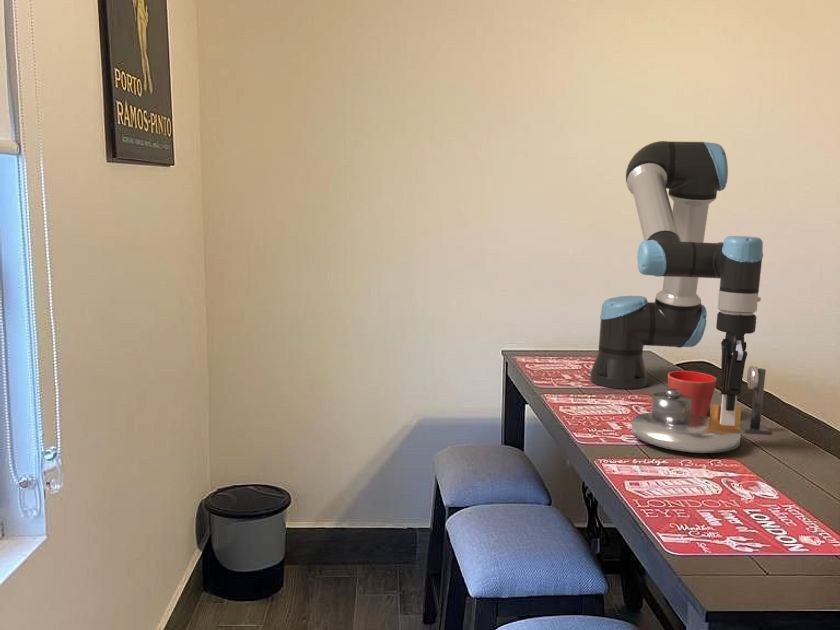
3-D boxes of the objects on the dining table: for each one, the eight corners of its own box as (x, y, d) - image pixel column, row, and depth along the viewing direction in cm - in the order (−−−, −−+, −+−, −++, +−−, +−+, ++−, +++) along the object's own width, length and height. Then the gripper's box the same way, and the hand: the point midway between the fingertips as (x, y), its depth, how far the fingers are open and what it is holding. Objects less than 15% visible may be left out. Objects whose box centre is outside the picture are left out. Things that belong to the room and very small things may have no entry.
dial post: (740, 426, 189) (746, 363, 187) (763, 427, 188) (770, 365, 186) (745, 432, 184) (751, 368, 182) (769, 434, 184) (775, 370, 181)
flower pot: (716, 424, 190) (720, 383, 188) (666, 420, 192) (669, 379, 190) (709, 412, 200) (713, 372, 199) (662, 408, 202) (665, 369, 201)
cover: (648, 413, 186) (650, 384, 185) (684, 414, 185) (687, 386, 184) (655, 423, 178) (658, 394, 177) (693, 425, 178) (696, 396, 176)
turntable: (623, 418, 188) (625, 388, 187) (722, 422, 187) (725, 392, 186) (642, 449, 167) (644, 415, 166) (754, 455, 166) (758, 421, 164)
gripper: (764, 317, 163) (753, 434, 167) (749, 309, 176) (739, 417, 179) (724, 315, 164) (714, 431, 168) (712, 307, 177) (702, 415, 180)
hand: (727, 424), depth 174 cm, fingers closed
